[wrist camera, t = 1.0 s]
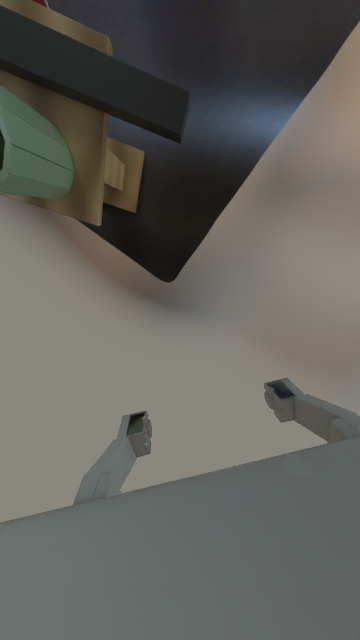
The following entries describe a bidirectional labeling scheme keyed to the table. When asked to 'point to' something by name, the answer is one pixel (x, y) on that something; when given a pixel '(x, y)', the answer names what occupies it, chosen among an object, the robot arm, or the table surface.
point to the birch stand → (80, 132)
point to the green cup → (31, 152)
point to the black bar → (90, 76)
